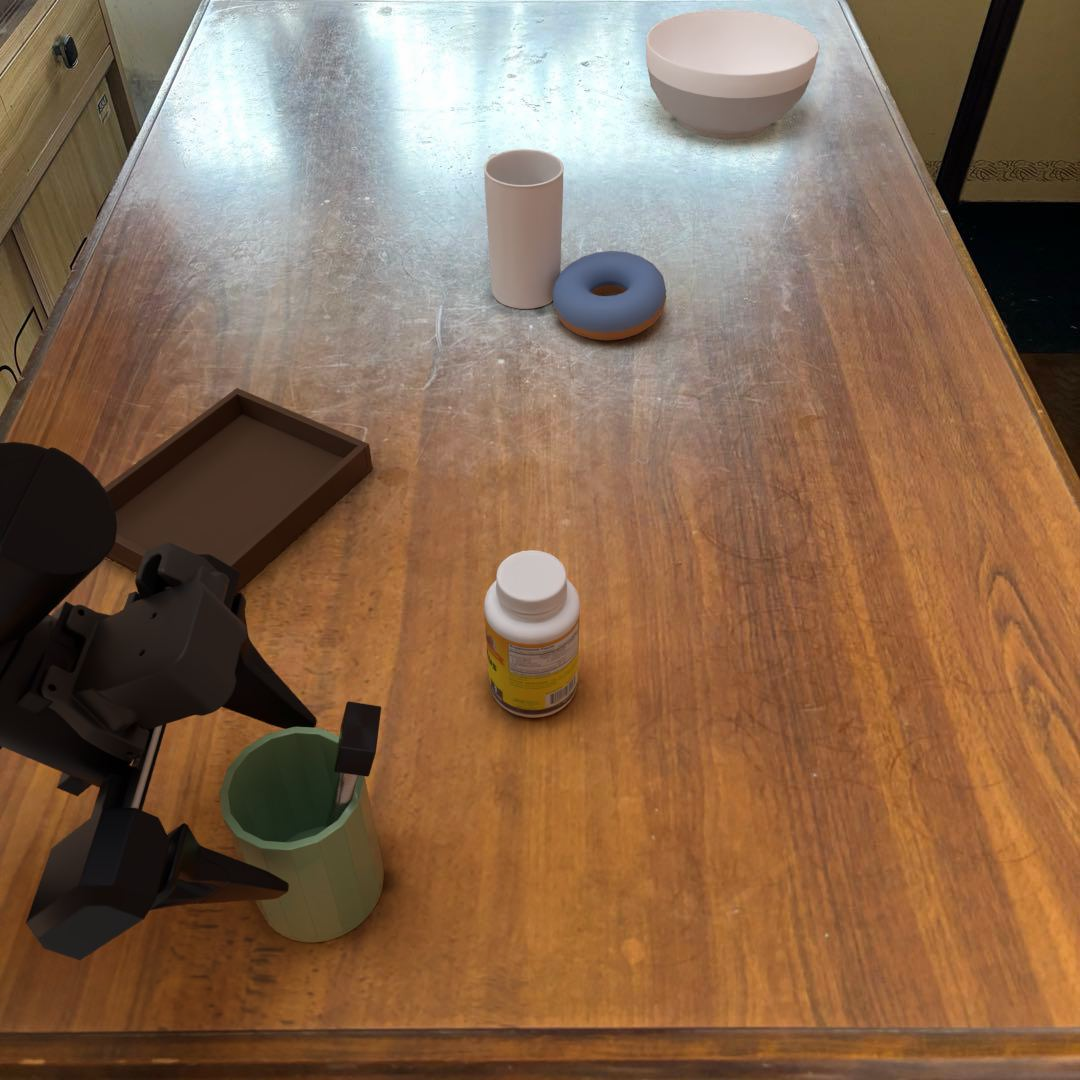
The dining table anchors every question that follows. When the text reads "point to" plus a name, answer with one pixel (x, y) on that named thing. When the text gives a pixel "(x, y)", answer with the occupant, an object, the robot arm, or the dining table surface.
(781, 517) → the dining table surface
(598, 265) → the doughnut
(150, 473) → the tray
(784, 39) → the bowl
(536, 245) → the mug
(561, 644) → the supplement bottle
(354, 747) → the black component with leads
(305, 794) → the cup
